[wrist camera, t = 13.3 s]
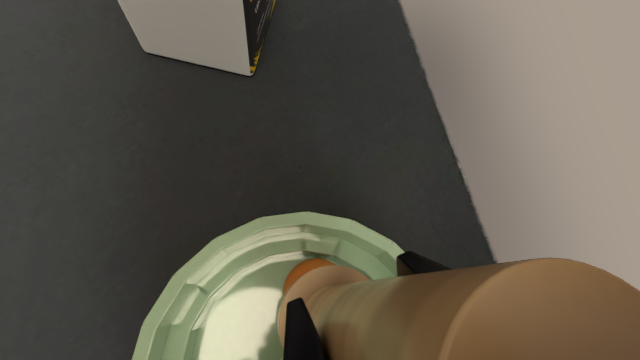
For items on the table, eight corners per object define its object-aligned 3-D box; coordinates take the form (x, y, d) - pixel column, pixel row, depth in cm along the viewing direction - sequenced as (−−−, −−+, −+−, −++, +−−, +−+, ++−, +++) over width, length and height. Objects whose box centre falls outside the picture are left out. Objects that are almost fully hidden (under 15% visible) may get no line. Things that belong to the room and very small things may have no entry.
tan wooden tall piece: (396, 308, 16) (850, 359, 4) (339, 401, 14) (775, 1025, 2) (318, 247, 16) (490, 100, 4) (255, 331, 15) (208, 522, 2)
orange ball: (334, 292, 19) (348, 246, 18) (347, 343, 17) (364, 294, 15) (277, 289, 19) (286, 242, 17) (279, 343, 16) (291, 292, 15)
